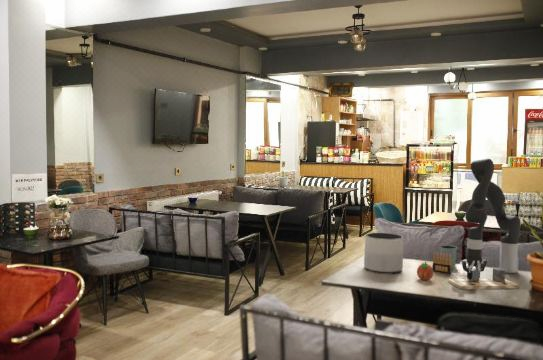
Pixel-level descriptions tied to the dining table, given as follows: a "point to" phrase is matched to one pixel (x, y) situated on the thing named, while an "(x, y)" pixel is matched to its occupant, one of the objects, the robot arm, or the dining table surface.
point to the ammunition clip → (441, 263)
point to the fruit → (425, 271)
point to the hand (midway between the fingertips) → (473, 279)
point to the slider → (475, 275)
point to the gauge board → (486, 282)
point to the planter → (383, 252)
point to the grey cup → (449, 250)
